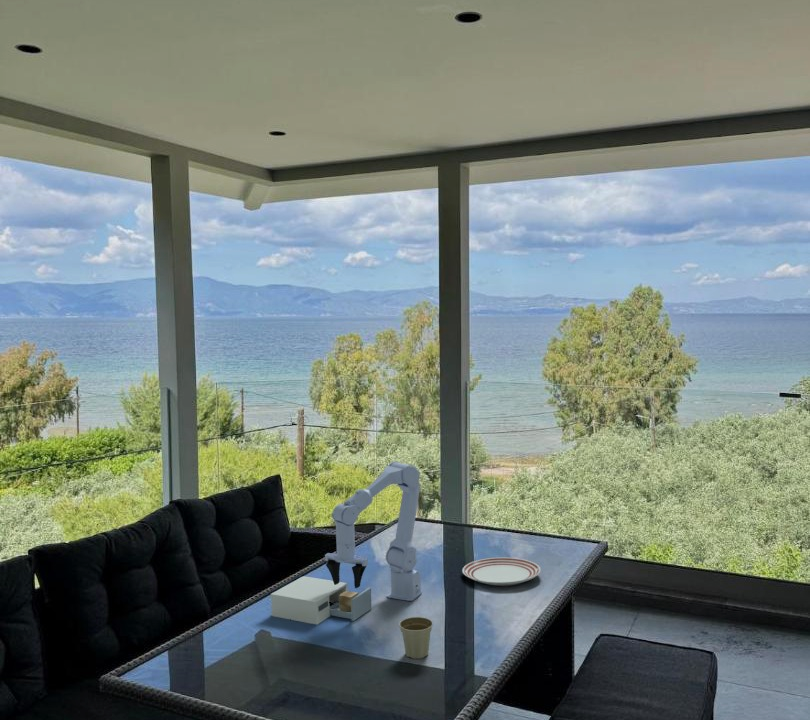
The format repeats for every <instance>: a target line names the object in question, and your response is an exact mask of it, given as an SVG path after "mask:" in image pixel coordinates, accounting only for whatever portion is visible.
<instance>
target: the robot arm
mask: <svg viewBox="0 0 810 720" xmlns="http://www.w3.org/2000/svg"><path fill="white" fill-rule="evenodd" d="M420 474H421V472H420V470H418V468H417V467H416V466H415V465H413V464H407V463H402V462H398V461H392V462H390V463H389V464H388V465H387V466H385V467H384V469H383V472H381V474H380V475H378V477H376V479H374V481H373V482H371V484H370V485H368V487H366V488H365V489H363V488H360V489H356V490H355V492H354V493H353V495H352V496H350V497H349V498H348V499H345V500H344V503H339V504H337V505H336V506H335V507H334V509H333V511H332V513H331V517H332V520H333V521H334V523H335V524H334V526H335V539H336V541H335V542H336V553H333V552H332V553H330V552H327V553H326V554H324V559H325V560H324V561H325V562H327V563H325V566H326V568H327V570H328V571H329V573H330V576H331V578H332V581H333V582H334V585H336V584H338V583H339V582H340V570H341V569H340V568H341V563H342V564H343V563H345V564H350V565H351V564H352V565H353V566H352V567H351V571H352V574H353V579H354V581H353V584H354V589H358V588H360V587H361V582H362V578H363V575H364V572H365V571H366V568H367V566H368V565H369V561H368V560H369V559H368V558H366V557H362V556H359V555H356V541H355V539H356V537H355V523H356V522H357V520H358V518H359V516H360V514H361V513H362V512H363V511H364V510H366V509H367V508H368V507H369V506H370V505H371V504H372V503H373V498H374V497H376V495H377V496H378V494H379V493H381V492H383V490H385V489H386V488H387V487H389V486H390V485H397V486H398V487H399V488H400V490H401V491H402V495H401V500H400V501H401V503H400V508H399V512H398V513H399V514H398V520H397V527H396V532H395V537H394V539H393V540H391V541H390V543H389V547H388V549H387V551H386V553H385V561H386V562H387V564H388V565H389V569H390V593H388V594H386V595H385V596H386V598H389V599H395V600H402V601H408V602H413V601H414V600H415V599H416V598H418V597H419V596H420V595H422V592H421V591H422V590H421V589H422V588H421V573H420V572H419V570H415V568H416V566H417V563H418V562H417V561H418V559H417V548H416V546H415V544H414V542H413V535H414V530H415V529H414V528H415V521H416V517H417V512H418V511H417V510H418V503H419V496H420V491H421V487H420V485H421V484H420Z"/></svg>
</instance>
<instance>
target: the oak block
mask: <svg viewBox="0 0 810 720" xmlns="http://www.w3.org/2000/svg"><path fill="white" fill-rule="evenodd" d="M358 594H359V592H357V591H350V590H347V591H345V592H344V593H342V594H340V595H339V609H340V611H344V612H350V613H351V599H352V598H354V597H355V596H357V595H358Z"/></svg>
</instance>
